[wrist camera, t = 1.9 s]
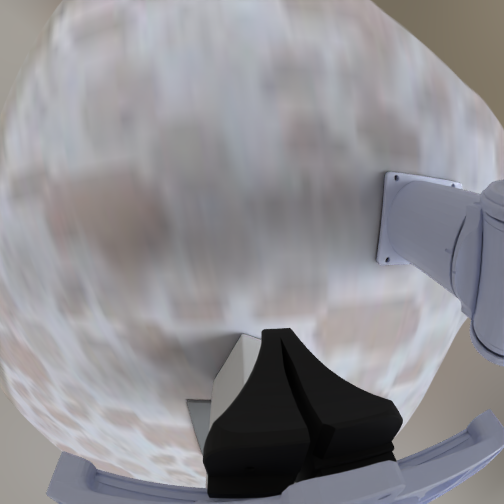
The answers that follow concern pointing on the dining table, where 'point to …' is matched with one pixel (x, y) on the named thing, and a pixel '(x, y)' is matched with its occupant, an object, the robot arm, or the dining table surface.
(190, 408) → the mat
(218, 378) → the milk carton
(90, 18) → the dining table surface
